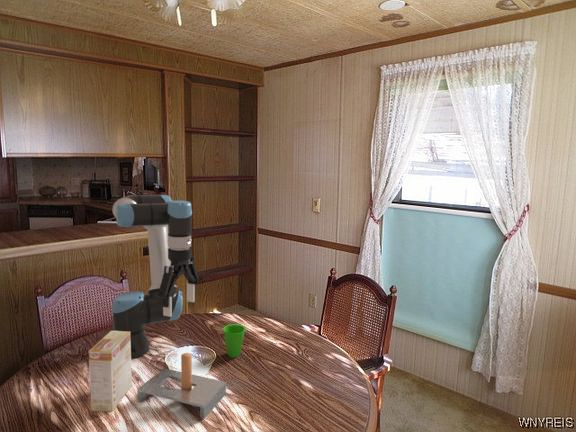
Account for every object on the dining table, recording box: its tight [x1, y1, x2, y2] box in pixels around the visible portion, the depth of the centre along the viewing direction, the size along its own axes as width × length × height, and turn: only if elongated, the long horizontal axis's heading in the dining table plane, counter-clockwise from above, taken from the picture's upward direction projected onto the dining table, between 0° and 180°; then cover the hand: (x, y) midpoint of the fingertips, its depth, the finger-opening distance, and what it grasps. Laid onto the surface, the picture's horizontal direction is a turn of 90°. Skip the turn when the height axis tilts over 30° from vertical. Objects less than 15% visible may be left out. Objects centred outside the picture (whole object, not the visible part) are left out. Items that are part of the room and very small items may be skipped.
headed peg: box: [179, 352, 193, 405], centre depth 130 cm, size 5×5×15 cm
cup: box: [222, 323, 247, 359], centre depth 161 cm, size 9×9×11 cm
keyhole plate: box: [136, 367, 227, 420], centre depth 131 cm, size 24×14×4 cm, turn 71°
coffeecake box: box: [88, 330, 133, 413], centre depth 130 cm, size 15×7×20 cm, turn 178°
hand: (179, 308), depth 138 cm, fingers open, 13 cm apart
